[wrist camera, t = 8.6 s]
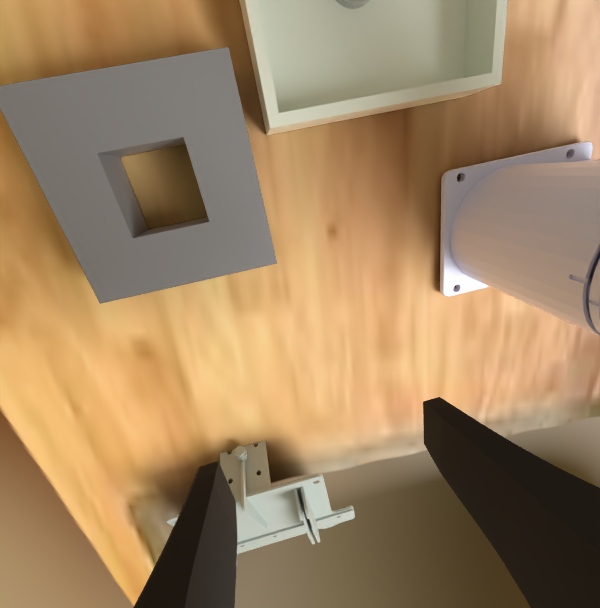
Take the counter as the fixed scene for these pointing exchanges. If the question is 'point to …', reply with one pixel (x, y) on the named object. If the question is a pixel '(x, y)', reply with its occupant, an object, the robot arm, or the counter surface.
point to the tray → (369, 56)
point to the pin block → (136, 139)
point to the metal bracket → (274, 501)
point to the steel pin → (352, 3)
